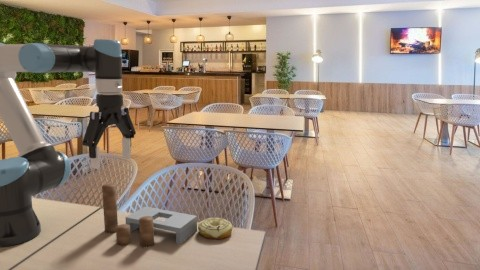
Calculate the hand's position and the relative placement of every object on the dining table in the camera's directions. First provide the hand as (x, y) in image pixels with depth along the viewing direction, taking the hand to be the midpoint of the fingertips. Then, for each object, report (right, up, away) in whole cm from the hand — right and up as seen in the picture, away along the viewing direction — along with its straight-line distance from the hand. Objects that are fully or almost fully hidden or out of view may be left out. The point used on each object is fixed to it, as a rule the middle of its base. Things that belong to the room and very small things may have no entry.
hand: (112, 163), depth 115 cm
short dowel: (+4, -24, -3) cm, 24 cm away
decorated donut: (+31, -23, +4) cm, 39 cm away
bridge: (+14, -22, +5) cm, 27 cm away
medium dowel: (+12, -24, -4) cm, 27 cm away
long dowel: (-2, -22, +5) cm, 23 cm away
